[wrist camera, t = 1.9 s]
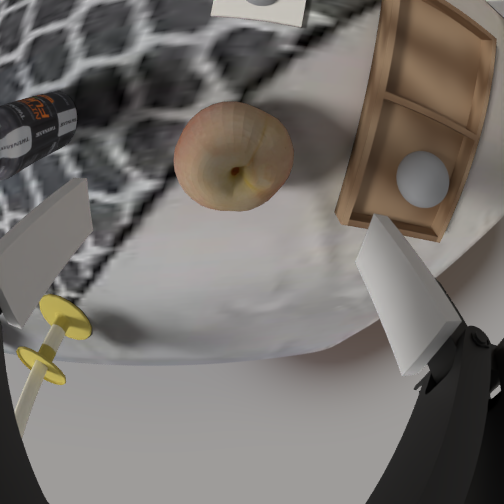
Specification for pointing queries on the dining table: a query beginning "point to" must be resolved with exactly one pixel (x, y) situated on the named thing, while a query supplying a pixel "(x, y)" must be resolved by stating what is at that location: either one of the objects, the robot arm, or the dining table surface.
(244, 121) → the fruit
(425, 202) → the grey ball
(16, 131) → the pill bottle
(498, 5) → the milk carton
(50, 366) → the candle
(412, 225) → the divided wooden tray
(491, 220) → the dining table surface
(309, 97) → the dining table surface
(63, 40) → the dining table surface
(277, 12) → the tile
